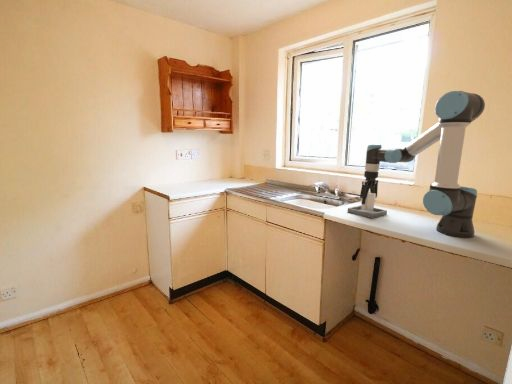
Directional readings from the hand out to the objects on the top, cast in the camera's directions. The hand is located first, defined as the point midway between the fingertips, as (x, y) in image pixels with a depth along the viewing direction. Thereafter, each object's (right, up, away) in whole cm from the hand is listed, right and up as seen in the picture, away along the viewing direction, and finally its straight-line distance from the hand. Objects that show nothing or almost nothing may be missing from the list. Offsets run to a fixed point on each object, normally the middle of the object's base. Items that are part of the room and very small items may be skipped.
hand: (367, 208), depth 167 cm
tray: (0, -3, +1) cm, 3 cm away
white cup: (0, -1, 0) cm, 1 cm away
